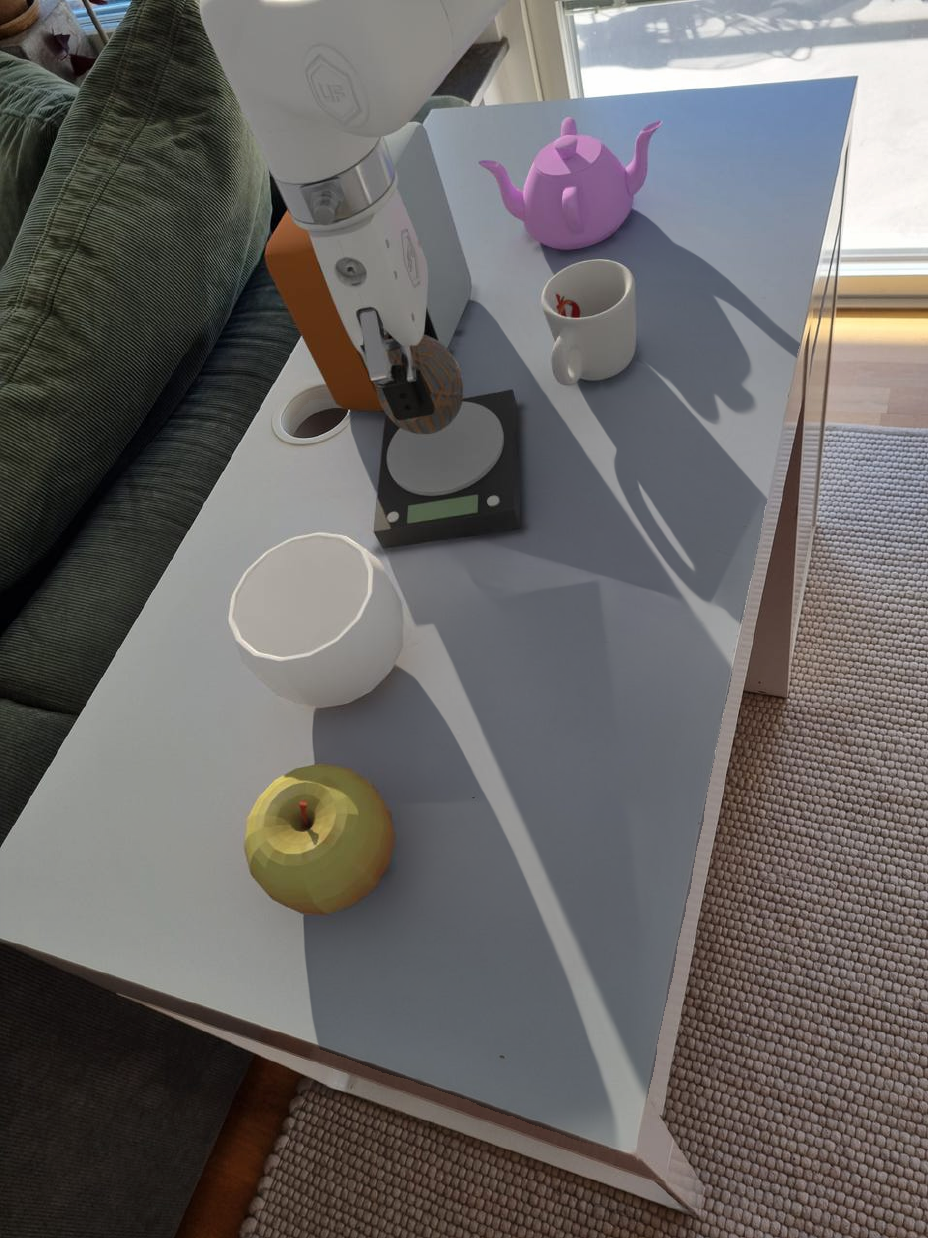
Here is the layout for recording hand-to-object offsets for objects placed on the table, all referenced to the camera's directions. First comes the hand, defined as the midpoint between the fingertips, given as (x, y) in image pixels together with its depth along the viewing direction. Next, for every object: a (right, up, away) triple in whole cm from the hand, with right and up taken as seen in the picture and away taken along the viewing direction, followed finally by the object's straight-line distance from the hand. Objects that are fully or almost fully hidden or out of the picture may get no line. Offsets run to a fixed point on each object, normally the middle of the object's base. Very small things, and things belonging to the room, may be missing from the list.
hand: (417, 379), depth 75 cm
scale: (+3, -7, +8) cm, 11 cm away
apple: (-5, -36, -9) cm, 37 cm away
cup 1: (-5, -23, 0) cm, 23 cm away
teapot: (+16, +22, +23) cm, 36 cm away
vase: (+1, -2, +3) cm, 4 cm away
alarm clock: (-2, +8, +19) cm, 21 cm away
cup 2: (+16, +3, +11) cm, 19 cm away
